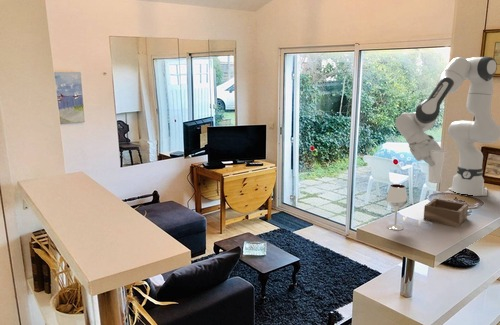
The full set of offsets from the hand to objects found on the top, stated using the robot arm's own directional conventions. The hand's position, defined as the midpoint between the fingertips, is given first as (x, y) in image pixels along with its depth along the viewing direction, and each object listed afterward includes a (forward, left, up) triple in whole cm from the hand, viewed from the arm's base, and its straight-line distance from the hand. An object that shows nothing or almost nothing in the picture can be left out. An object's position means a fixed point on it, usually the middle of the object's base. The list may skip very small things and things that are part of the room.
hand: (437, 164), depth 184 cm
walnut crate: (+13, +9, -21) cm, 26 cm away
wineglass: (+37, -4, -22) cm, 43 cm away
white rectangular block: (0, -1, -9) cm, 9 cm away
